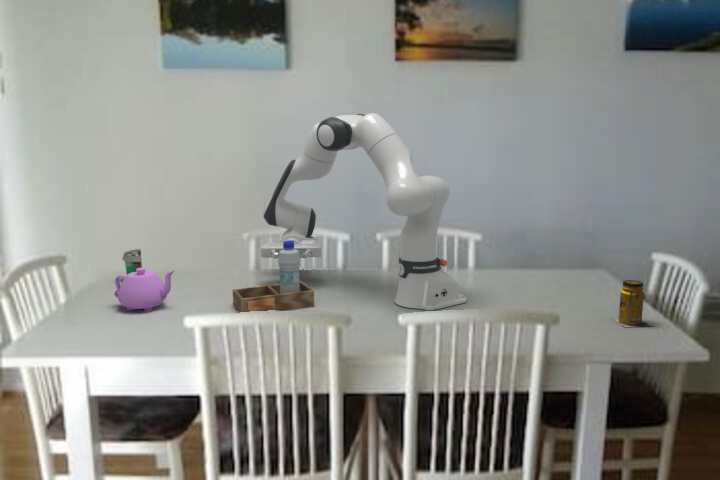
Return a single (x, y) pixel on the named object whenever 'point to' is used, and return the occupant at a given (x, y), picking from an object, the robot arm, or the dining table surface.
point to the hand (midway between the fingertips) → (290, 255)
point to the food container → (132, 260)
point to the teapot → (142, 289)
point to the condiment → (631, 305)
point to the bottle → (289, 268)
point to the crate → (272, 298)
